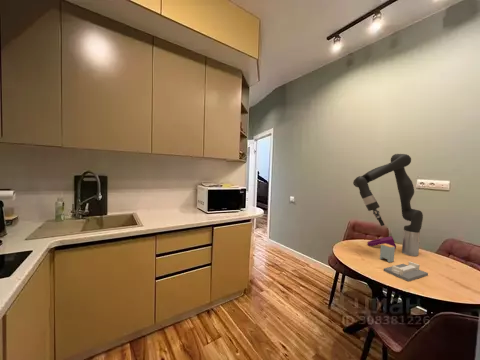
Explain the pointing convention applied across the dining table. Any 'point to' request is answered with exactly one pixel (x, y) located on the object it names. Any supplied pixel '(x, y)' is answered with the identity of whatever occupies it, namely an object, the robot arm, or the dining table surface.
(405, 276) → the mounting board
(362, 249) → the dining table surface
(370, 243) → the mounting bracket
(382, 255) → the plate
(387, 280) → the dining table surface
